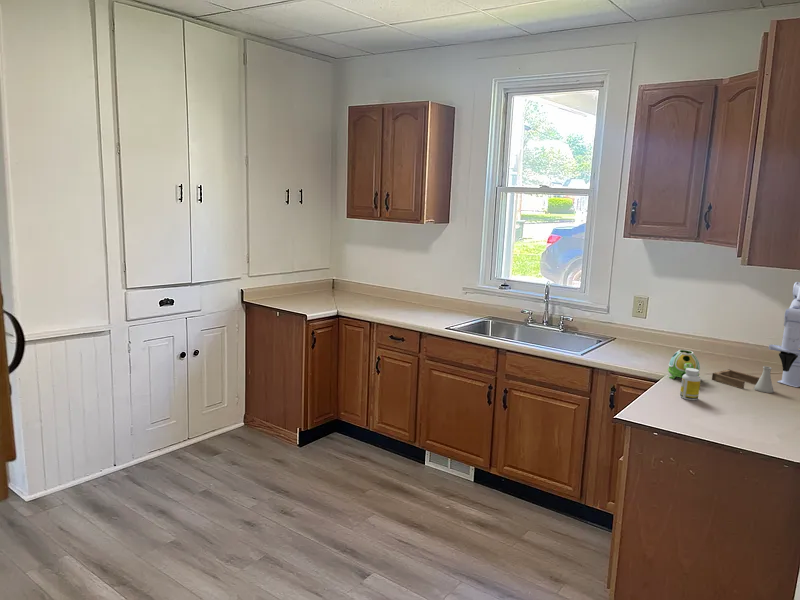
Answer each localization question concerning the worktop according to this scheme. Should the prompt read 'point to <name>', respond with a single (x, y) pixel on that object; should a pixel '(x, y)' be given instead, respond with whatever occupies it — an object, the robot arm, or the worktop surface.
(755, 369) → the worktop surface
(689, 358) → the turtle holder
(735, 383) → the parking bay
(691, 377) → the pill bottle
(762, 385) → the flask
